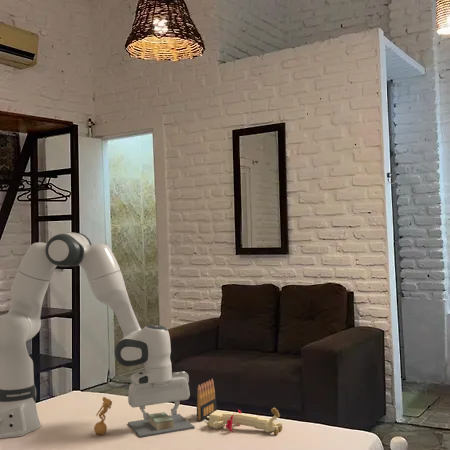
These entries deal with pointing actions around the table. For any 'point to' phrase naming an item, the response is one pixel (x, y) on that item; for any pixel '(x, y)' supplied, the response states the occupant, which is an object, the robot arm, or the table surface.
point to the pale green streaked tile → (161, 421)
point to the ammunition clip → (206, 400)
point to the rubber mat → (147, 429)
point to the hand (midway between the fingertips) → (160, 416)
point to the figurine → (101, 426)
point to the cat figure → (244, 421)
